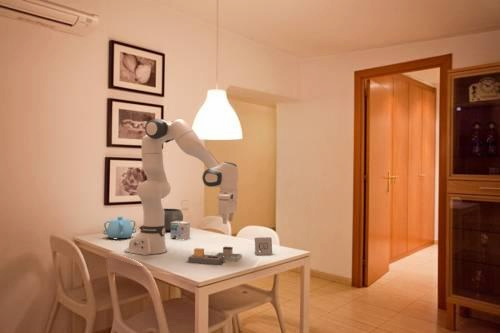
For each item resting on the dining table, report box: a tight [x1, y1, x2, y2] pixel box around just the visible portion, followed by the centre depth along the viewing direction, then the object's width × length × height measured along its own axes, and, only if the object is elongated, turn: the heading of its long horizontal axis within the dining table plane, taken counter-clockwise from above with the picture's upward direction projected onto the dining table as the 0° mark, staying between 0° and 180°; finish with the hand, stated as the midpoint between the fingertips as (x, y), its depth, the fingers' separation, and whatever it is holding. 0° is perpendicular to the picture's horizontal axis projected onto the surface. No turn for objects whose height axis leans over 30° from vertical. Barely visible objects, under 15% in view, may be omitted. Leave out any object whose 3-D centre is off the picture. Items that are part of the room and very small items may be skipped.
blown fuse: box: [222, 246, 233, 258], centre depth 185 cm, size 4×2×6 cm, turn 77°
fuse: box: [193, 247, 205, 257], centre depth 178 cm, size 4×2×6 cm, turn 77°
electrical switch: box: [254, 236, 273, 256], centre depth 200 cm, size 9×5×9 cm, turn 99°
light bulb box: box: [169, 220, 191, 241], centre depth 238 cm, size 11×7×11 cm, turn 69°
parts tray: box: [214, 252, 243, 263], centre depth 185 cm, size 12×9×3 cm
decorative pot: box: [102, 216, 137, 239], centre depth 237 cm, size 16×16×14 cm
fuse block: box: [184, 253, 227, 267], centre depth 177 cm, size 18×8×4 cm, turn 77°
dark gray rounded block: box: [163, 208, 184, 232], centre depth 266 cm, size 20×20×15 cm
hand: (227, 222), depth 185 cm, fingers open, 8 cm apart
